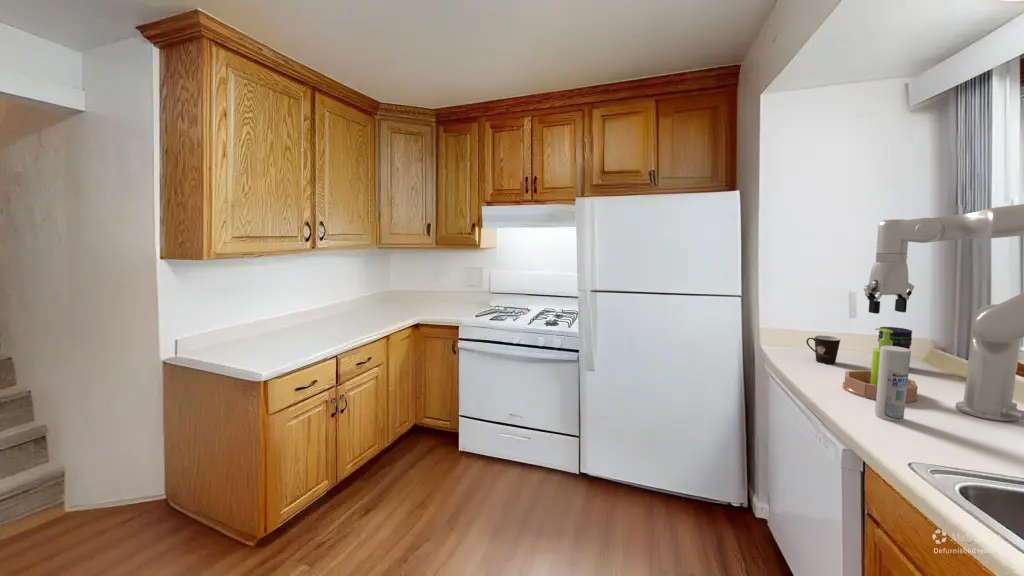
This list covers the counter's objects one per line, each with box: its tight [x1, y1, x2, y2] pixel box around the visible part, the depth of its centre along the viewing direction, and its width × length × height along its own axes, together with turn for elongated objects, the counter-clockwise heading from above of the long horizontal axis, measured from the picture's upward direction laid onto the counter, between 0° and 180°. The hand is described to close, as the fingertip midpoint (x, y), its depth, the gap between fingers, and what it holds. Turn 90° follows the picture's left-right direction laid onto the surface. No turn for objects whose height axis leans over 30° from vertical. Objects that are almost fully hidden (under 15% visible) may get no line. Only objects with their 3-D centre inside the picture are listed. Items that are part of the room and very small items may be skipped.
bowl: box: [842, 369, 918, 404], centre depth 148 cm, size 19×19×4 cm
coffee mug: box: [806, 335, 841, 365], centre depth 184 cm, size 12×9×10 cm
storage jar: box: [877, 326, 913, 350], centre depth 174 cm, size 10×10×15 cm
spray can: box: [874, 346, 912, 423], centre depth 127 cm, size 6×6×20 cm
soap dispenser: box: [870, 327, 893, 385], centre depth 147 cm, size 6×7×20 cm
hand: (887, 312), depth 145 cm, fingers open, 9 cm apart
